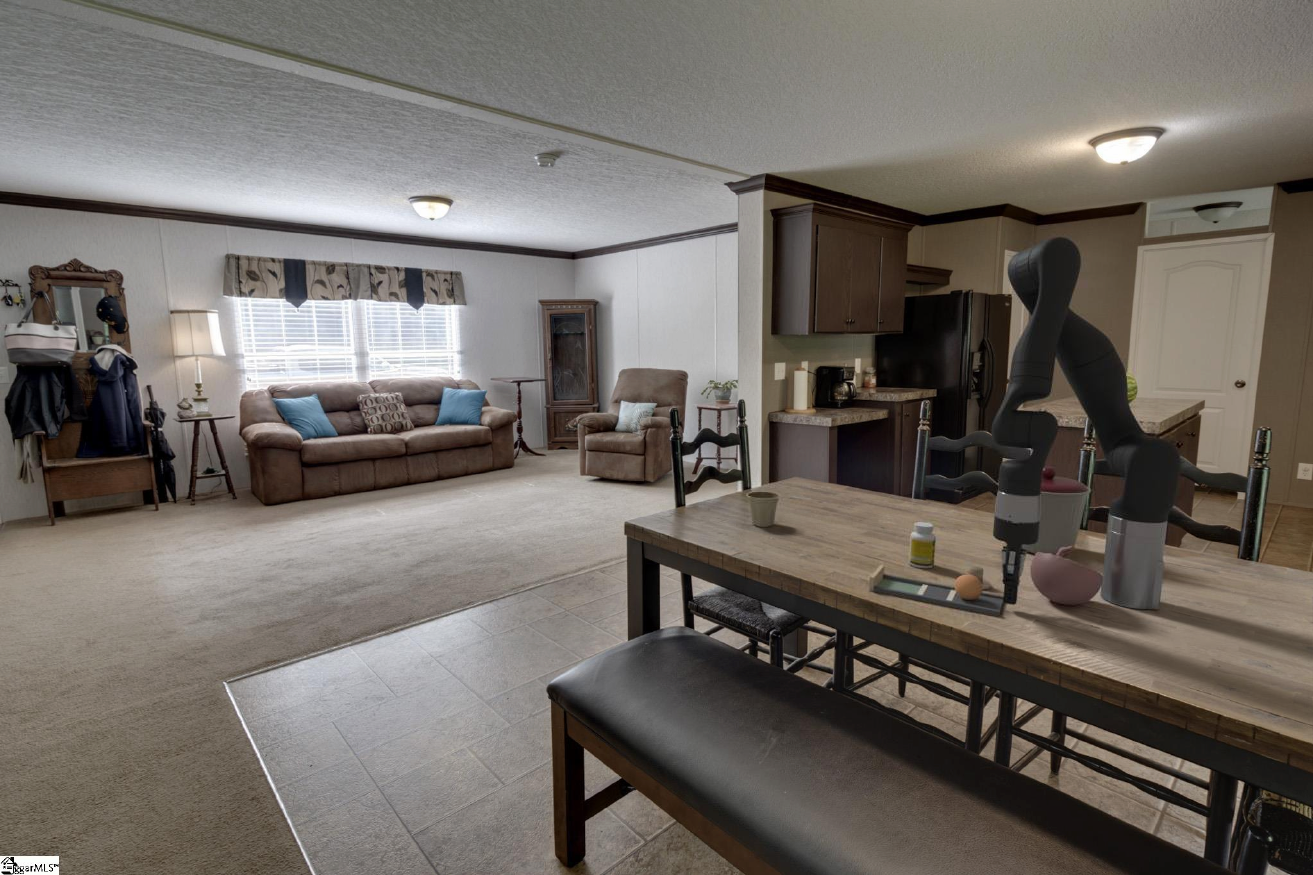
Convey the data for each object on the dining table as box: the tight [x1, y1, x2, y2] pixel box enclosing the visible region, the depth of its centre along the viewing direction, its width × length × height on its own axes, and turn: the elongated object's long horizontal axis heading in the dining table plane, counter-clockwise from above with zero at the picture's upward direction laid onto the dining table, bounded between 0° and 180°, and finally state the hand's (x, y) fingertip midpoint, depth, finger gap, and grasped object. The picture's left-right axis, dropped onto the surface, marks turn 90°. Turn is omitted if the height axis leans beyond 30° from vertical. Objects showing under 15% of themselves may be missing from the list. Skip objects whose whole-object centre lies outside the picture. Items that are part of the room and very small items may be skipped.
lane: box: [868, 564, 1004, 618], centre depth 130 cm, size 24×9×3 cm, turn 57°
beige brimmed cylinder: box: [967, 565, 991, 591], centre depth 136 cm, size 6×6×4 cm
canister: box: [1022, 466, 1092, 556], centre depth 158 cm, size 18×18×21 cm
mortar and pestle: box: [1029, 546, 1103, 606], centre depth 126 cm, size 12×12×11 cm
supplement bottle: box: [908, 521, 936, 569], centre depth 148 cm, size 5×5×10 cm
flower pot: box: [746, 490, 781, 528], centre depth 182 cm, size 9×9×9 cm
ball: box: [954, 574, 984, 600], centre depth 127 cm, size 5×5×5 cm
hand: (1009, 602), depth 123 cm, fingers closed
